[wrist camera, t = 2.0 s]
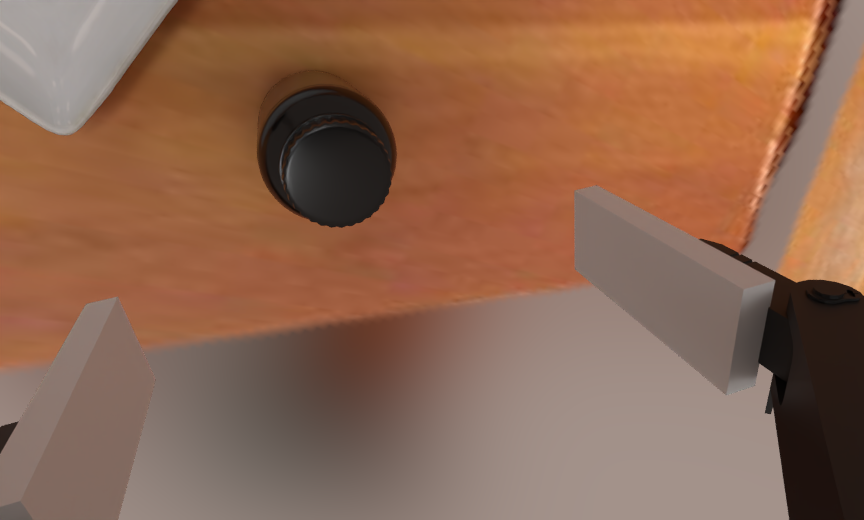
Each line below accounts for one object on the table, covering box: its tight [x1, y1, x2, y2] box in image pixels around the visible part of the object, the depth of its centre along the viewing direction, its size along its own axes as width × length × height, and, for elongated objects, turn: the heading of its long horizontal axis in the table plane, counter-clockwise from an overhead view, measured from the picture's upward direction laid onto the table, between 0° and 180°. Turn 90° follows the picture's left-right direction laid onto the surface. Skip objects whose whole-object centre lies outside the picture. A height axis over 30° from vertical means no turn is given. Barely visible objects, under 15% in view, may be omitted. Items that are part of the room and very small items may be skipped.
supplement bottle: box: [257, 71, 397, 228], centre depth 29 cm, size 7×7×12 cm
